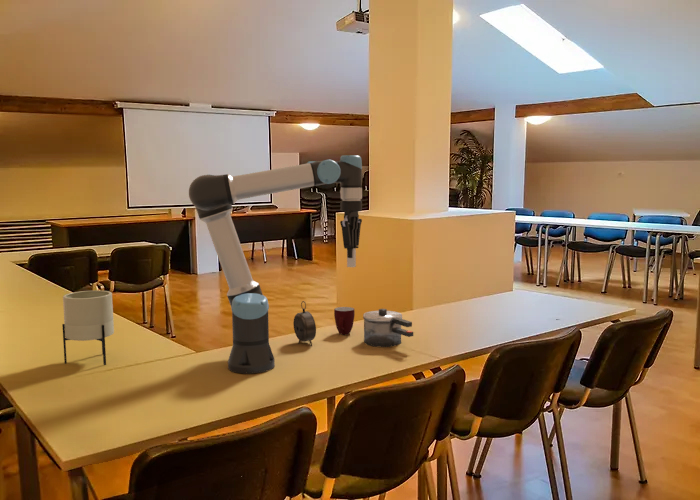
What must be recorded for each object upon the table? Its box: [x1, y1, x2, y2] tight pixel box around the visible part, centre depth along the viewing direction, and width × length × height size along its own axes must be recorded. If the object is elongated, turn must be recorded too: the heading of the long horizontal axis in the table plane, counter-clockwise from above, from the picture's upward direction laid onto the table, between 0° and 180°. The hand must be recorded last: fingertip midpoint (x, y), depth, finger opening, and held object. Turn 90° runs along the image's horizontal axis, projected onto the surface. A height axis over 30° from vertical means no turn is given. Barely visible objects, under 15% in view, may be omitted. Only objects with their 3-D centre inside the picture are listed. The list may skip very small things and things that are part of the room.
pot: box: [363, 318, 414, 348], centre depth 227 cm, size 14×23×9 cm, turn 36°
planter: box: [62, 289, 115, 366], centre depth 207 cm, size 15×16×23 cm
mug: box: [333, 306, 356, 336], centre depth 242 cm, size 10×8×10 cm
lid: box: [362, 308, 413, 328], centre depth 226 cm, size 15×24×3 cm, turn 33°
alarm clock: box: [293, 300, 317, 347], centre depth 228 cm, size 11×5×16 cm, turn 31°
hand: (351, 266), depth 217 cm, fingers closed
